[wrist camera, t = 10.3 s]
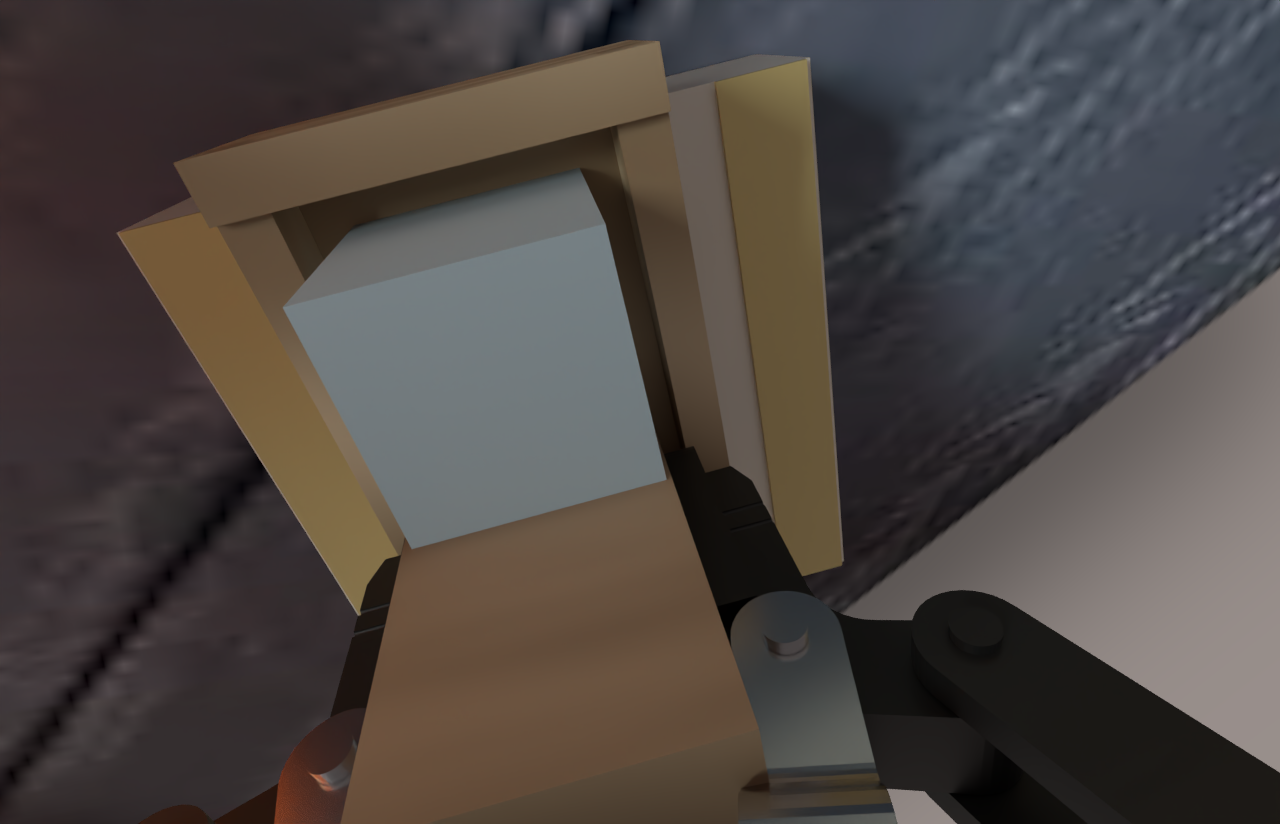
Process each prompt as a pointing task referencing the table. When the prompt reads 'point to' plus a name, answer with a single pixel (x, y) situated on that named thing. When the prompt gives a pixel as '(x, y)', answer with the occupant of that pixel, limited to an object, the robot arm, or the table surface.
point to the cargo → (483, 358)
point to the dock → (729, 289)
